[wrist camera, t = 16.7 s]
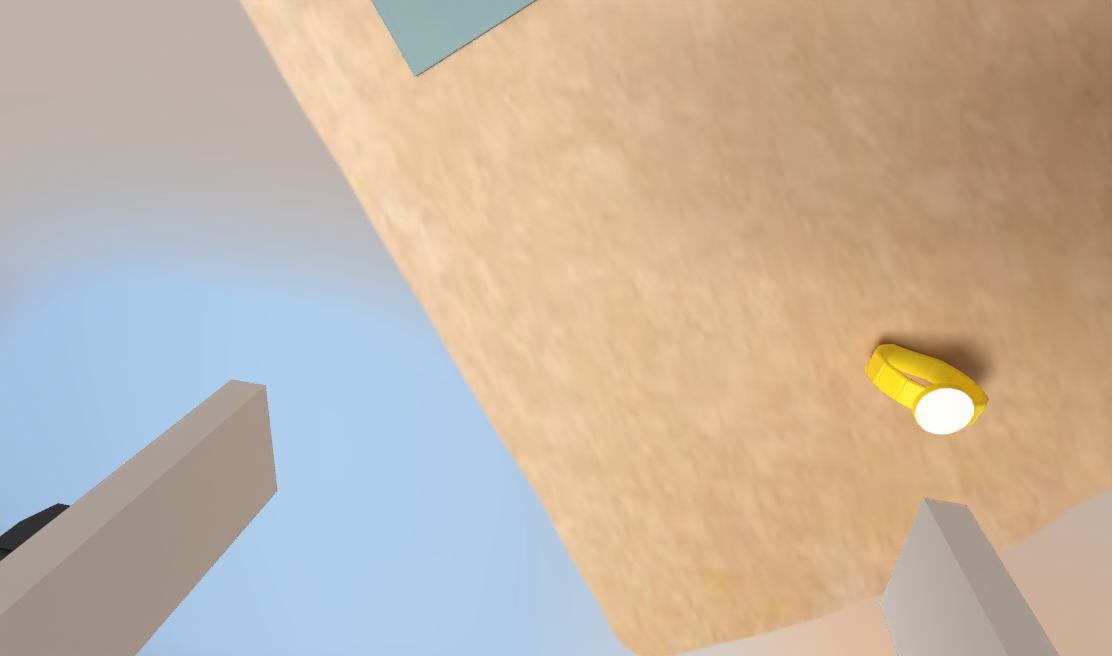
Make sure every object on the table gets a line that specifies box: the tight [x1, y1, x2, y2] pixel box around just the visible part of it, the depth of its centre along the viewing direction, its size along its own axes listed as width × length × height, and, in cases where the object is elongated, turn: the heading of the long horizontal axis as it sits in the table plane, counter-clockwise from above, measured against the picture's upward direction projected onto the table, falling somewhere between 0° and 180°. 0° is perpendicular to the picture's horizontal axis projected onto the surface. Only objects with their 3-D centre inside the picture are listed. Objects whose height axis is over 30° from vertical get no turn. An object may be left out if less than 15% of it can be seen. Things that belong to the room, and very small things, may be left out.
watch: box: [865, 344, 989, 434], centre depth 36 cm, size 6×3×6 cm, turn 73°
